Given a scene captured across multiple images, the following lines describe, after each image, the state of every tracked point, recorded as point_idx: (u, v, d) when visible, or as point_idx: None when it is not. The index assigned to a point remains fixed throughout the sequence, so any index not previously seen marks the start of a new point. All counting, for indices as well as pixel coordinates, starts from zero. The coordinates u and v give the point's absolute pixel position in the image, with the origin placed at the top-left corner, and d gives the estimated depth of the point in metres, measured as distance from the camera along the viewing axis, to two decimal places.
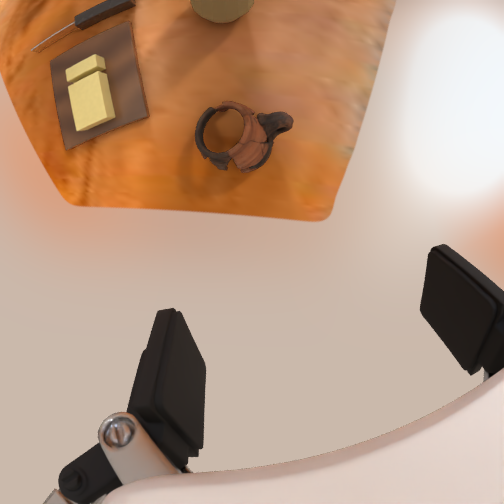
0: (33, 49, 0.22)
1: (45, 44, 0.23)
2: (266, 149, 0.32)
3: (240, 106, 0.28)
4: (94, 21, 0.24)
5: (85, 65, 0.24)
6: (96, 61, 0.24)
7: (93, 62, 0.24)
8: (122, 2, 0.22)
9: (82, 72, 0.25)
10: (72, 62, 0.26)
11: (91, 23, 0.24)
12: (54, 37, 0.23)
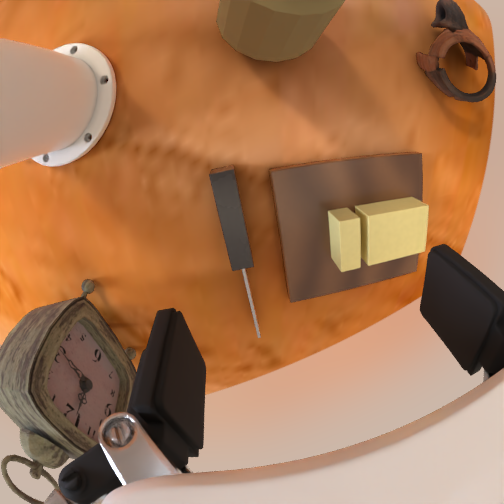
0: (259, 333, 0.29)
1: None
2: None
3: (450, 39, 0.13)
4: (247, 234, 0.26)
5: (350, 237, 0.23)
6: (352, 219, 0.22)
7: (352, 224, 0.22)
8: (234, 183, 0.22)
9: (360, 241, 0.23)
10: (312, 264, 0.27)
11: (248, 239, 0.26)
12: None
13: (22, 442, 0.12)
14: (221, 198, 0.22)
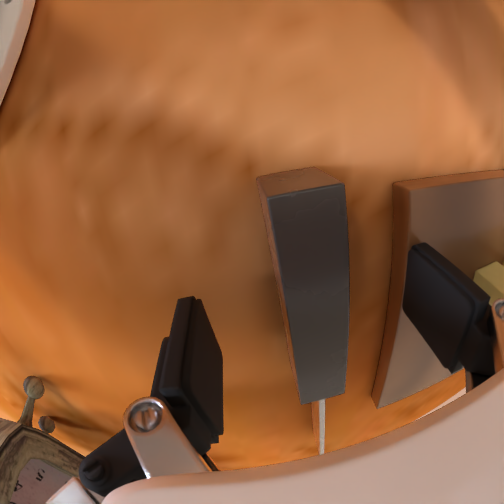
0: None
1: None
2: None
3: None
4: None
5: None
6: None
7: None
8: (342, 226, 0.07)
9: None
10: (427, 356, 0.12)
11: None
12: None
13: None
14: (299, 272, 0.07)
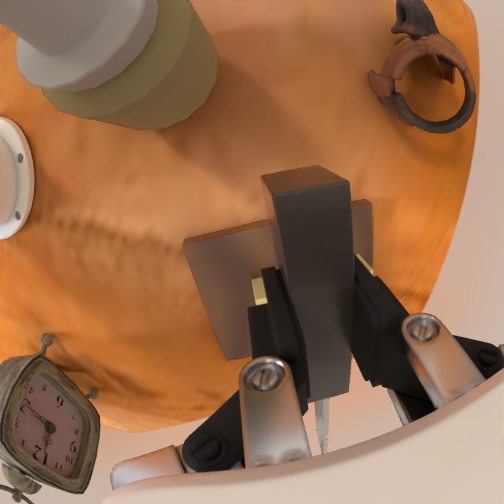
0: None
1: None
2: None
3: (409, 52, 0.12)
4: None
5: None
6: None
7: None
8: (347, 225, 0.07)
9: None
10: (242, 328, 0.26)
11: None
12: None
13: (4, 474, 0.10)
14: (305, 270, 0.07)
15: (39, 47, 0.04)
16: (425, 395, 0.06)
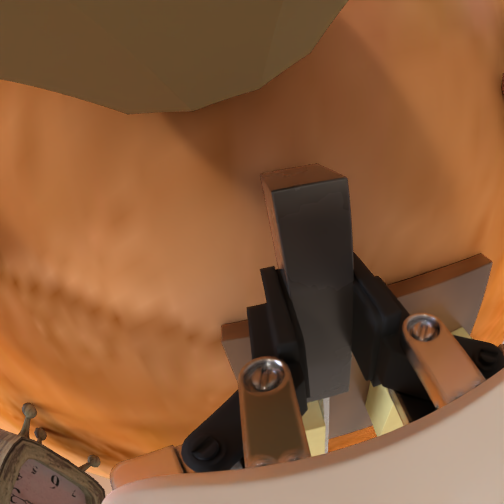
0: None
1: None
2: None
3: None
4: None
5: None
6: (309, 430, 0.11)
7: (310, 433, 0.11)
8: (346, 221, 0.07)
9: (324, 442, 0.12)
10: None
11: None
12: None
13: None
14: (304, 266, 0.07)
15: None
16: (426, 395, 0.06)
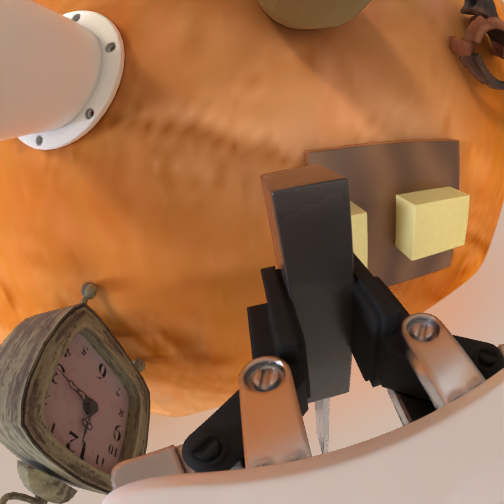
0: None
1: None
2: None
3: (485, 25, 0.10)
4: None
5: (356, 236, 0.19)
6: (357, 214, 0.18)
7: (357, 220, 0.19)
8: (346, 222, 0.07)
9: (367, 241, 0.19)
10: None
11: None
12: None
13: (21, 476, 0.08)
14: (304, 267, 0.07)
15: None
16: (425, 395, 0.06)
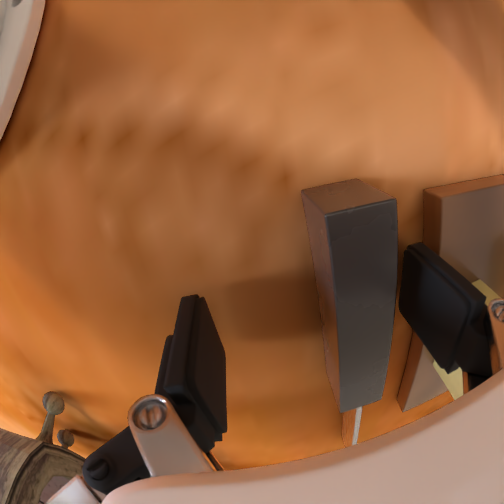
0: None
1: None
2: None
3: None
4: None
5: None
6: None
7: None
8: (393, 241, 0.07)
9: None
10: None
11: None
12: None
13: None
14: (352, 286, 0.07)
15: None
16: None
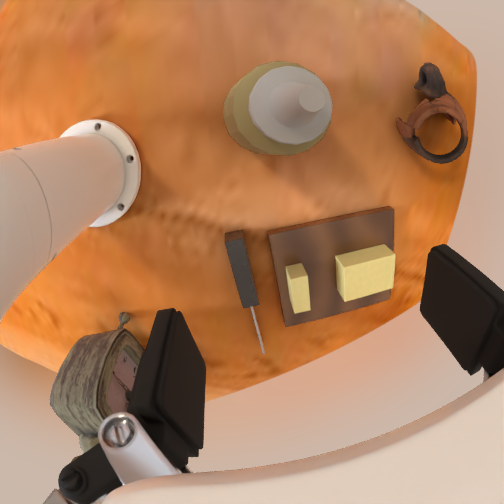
0: (264, 350, 0.37)
1: (261, 336, 0.37)
2: (453, 97, 0.21)
3: (426, 112, 0.21)
4: None
5: (300, 289, 0.31)
6: (300, 277, 0.30)
7: (301, 280, 0.30)
8: (244, 248, 0.30)
9: (308, 292, 0.31)
10: None
11: (254, 283, 0.34)
12: (258, 328, 0.36)
13: (84, 445, 0.20)
14: (234, 259, 0.30)
15: (288, 122, 0.13)
16: None
